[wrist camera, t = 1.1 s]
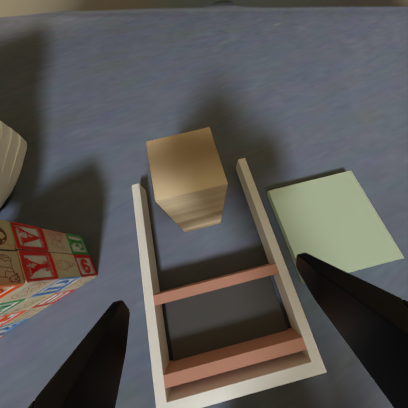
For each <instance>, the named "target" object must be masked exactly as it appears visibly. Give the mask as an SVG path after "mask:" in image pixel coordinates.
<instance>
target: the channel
mask: <svg viewBox="0 0 408 408" xmlns="http://www.w3.org/2000/svg"><path fill="white" fill-rule="evenodd" d="M236 171H237V174H238V177H239V180H240V182H241V185H242V188H243V191H244V194H245V197H246V199H247V202H248V205H249V208H250V211H251V214H252V217H253V219H254V222H255V225H256V228H257V231H258V234H259V237H260V239H261V242H262V245H263V248H264V251H265V254H266V257H267V259H268V262H269V263H271V264H276V265H277V268H278V271H279V273H278V274H274V275H273V276H274V279H275V282H276V285H277V288H278V291H279V294H280V296H281V299H282V302H283V305H284V308H285V311H286V314H287V316H288V319H289V322H290V325H291V328H292V329H294V330H295V331H296V332H297V333H298V334H299V335H301V336H302V337H303V340H304V342H305V345H306V348H307V350H303V351H300V352H296V353H292V354H289V355H285V356H281V357H278V358H274V359H271V360H267V361H263V362H260V363H256V364H253V365H249V366H245V367H242V368H238V369H234V370H231V371H227V372H224V373H220V374H216V375H213V376H209V377H206V378H202V379H198V380H195V381H191V382H188V383H184V384H180V385H177V386H173V387H169V388H166V389H165V386H164V378H163V375H164V373H165V370H166V368H167V366H168V363H169V361H170V360H169V353H168V346H167V339H166V331H165V324H164V317H163V310H162V304H159V305H156V306H154V298H153V295H155V294H157V293H159V292H160V288H159V281H158V274H157V267H156V259H155V252H154V245H153V238H152V231H151V223H150V216H149V209H148V202H147V195H146V190H145V189H144V188H143V187H142V186H141V185H140V184H135V185H132V191H133V200H134V209H135V219H136V228H137V237H138V246H139V255H140V264H141V273H142V283H143V292H144V301H145V310H146V319H147V328H148V337H149V347H150V356H151V365H152V374H153V383H154V392H155V401H156V408H202V407H206V406H209V405H213V404H217V403H220V402H224V401H227V400H231V399H234V398H238V397H241V396H245V395H248V394H252V393H256V392H259V391H263V390H266V389H270V388H273V387H277V386H280V385H284V384H288V383H291V382H295V381H298V380H302V379H305V378H309V377H312V376H316V375H320V374H323V373H327V372H326V369H325V366H324V364H323V361H322V359H321V356H320V353H319V351H318V348H317V345H316V343H315V340H314V338H313V335H312V332H311V330H310V327H309V324H308V322H307V319H306V317H305V314H304V311H303V309H302V306H301V304H300V301H299V298H298V296H297V293H296V290H295V288H294V285H293V283H292V280H291V277H290V275H289V272H288V269H287V267H286V264H285V262H284V259H283V256H282V254H281V251H280V248H279V246H278V243H277V241H276V238H275V235H274V233H273V230H272V227H271V225H270V222H269V220H268V217H267V214H266V212H265V209H264V206H263V204H262V201H261V199H260V196H259V193H258V191H257V188H256V185H255V183H254V180H253V178H252V175H251V172H250V170H249V167H248V165H247V162H246V159H245V158H243V159H239V160H238V162H237V166H236Z"/></svg>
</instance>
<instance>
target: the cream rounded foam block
mask: <svg viewBox="0 0 408 408" xmlns="http://www.w3.org/2000/svg"><path fill="white" fill-rule="evenodd" d="M26 150H27V142H26V141H25V140H24V139H23V138H22V137H21V136H20V135H19V134H18V133H16V132H15V131H14V130H13V129H12V128H10V127H8V126H7V125H6V124H4V123H3V122H2V121H0V208H1V207H2V205H3V204H4V202H5V201H6V200H7V198H8V197H9V195H10V194H11V193H12V191H13V189H14V186H15V185H16V182H17V180H18V177H19V175H20V172H21V169H22V165H23V161H24V157H25V154H26Z"/></svg>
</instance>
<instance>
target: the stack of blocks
mask: <svg viewBox="0 0 408 408" xmlns="http://www.w3.org/2000/svg"><path fill="white" fill-rule="evenodd" d="M96 276H97V272H96V270H95V267H94V265H93V262H92V260H91V257H90V255H89V253H88V251H87V248H86V245H85V243H84V240H83V237H82V236H78V235H74V234H69V233H62V232H57V231H53V230H48V229H41V228H40V227H36V226H32V225H26V224H23V223H17V222H12V221H4V220H0V337H2V336H3V335H4V334H5V333H7V332H8V331H10V330H11V329H13V328H14V327H16V326H18V325H19V324H21V323H22V322H24V321H26V320H27V319H28V318H30V317H32V316H33V315H35V314H36V313H38V312H39V311H41V310H43V309H44V308H46V307H47V306H49V305H50V304H52V303H55V302H56V301H58V300H59V299H61V298H62V297H64V296H66V295H67V294H69V293H70V292H72V291H74V290H75V289H77V288H79V287H80V286H82V285H83V284H85V283H87V282H88V281H90V280H91V279H93V278H95V277H96Z"/></svg>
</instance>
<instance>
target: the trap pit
mask: <svg viewBox="0 0 408 408" xmlns="http://www.w3.org/2000/svg"><path fill="white" fill-rule="evenodd" d="M278 273H279V271H278V268H277V265H276V264H271V263H269V264H265V265H261V266H257V267H253V268H249V269H246V270H242V271H238V272H234V273H230V274H226V275H223V276H219V277H215V278H211V279H207V280H203V281H200V282H196V283H192V284H188V285H184V286H180V287H176V288H173V289H169V290H165V291H161V292H159V293H157V294H155V295H153V298H154V306H156V305H159V304H163V303H165V307H166V313H167V320H168V327H169V334H170V341H171V348H172V355H173V360H171V361H169V363H168V366H167V368H166V370H165V373H164V375H163V378H164V386H165V389H166V388H169V387H173V386H177V385H180V384H184V383H188V382H191V381H195V380H198V379H202V378H206V377H209V376H213V375H216V374H220V373H224V372H227V371H231V370H234V369H238V368H242V367H245V366H249V365H253V364H256V363H260V362H263V361H267V360H271V359H274V358H278V357H281V356H285V355H289V354H292V353H296V352H300V351H303V350H307V348H306V345H305V342H304V340H303V337H302V336H301V335H299V334H298V333H297V332H296V331H295V330H294V329H292V328H289V329H288V328H287V325H286V322H285V319H284V316H283V313H282V310H281V307H280V304H279V301H278V298H277V296H276V293H275V290H274V287H273V284H272V281H271V278H270V275H274V274H278Z"/></svg>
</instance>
